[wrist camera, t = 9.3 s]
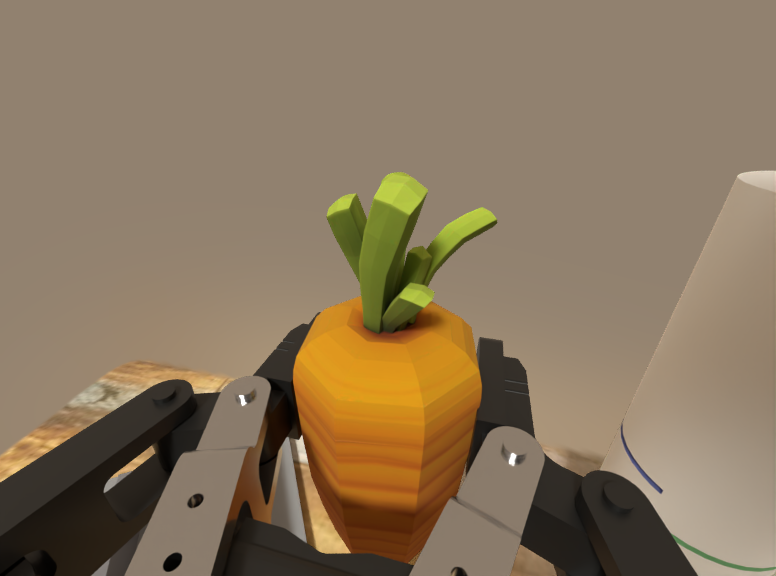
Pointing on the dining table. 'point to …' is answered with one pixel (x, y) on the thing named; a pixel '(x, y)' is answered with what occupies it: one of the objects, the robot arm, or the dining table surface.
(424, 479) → the carrot
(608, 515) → the robot arm
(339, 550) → the dining table surface
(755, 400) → the cylindrical container
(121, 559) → the sleeve stand
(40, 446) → the dining table surface
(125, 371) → the dining table surface
